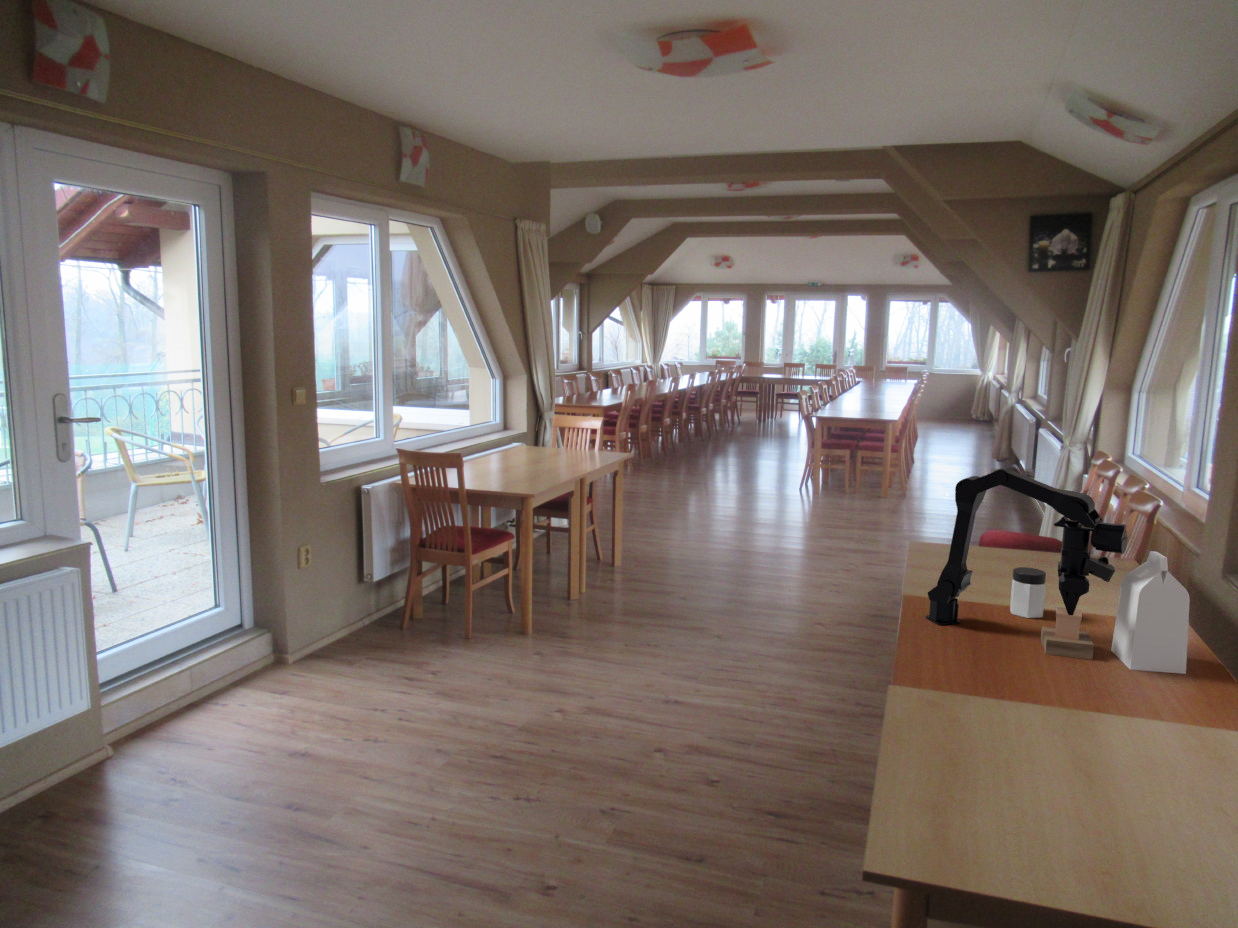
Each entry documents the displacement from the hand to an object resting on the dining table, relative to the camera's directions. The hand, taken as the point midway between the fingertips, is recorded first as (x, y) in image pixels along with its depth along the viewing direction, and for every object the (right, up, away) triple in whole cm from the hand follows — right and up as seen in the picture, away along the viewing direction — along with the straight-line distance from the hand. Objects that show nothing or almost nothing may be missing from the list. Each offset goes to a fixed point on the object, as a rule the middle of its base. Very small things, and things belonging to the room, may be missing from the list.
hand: (1070, 609), depth 205 cm
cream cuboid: (0, -7, +1) cm, 7 cm away
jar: (+3, -6, +28) cm, 29 cm away
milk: (+15, -12, -6) cm, 20 cm away
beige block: (0, -11, +2) cm, 11 cm away
